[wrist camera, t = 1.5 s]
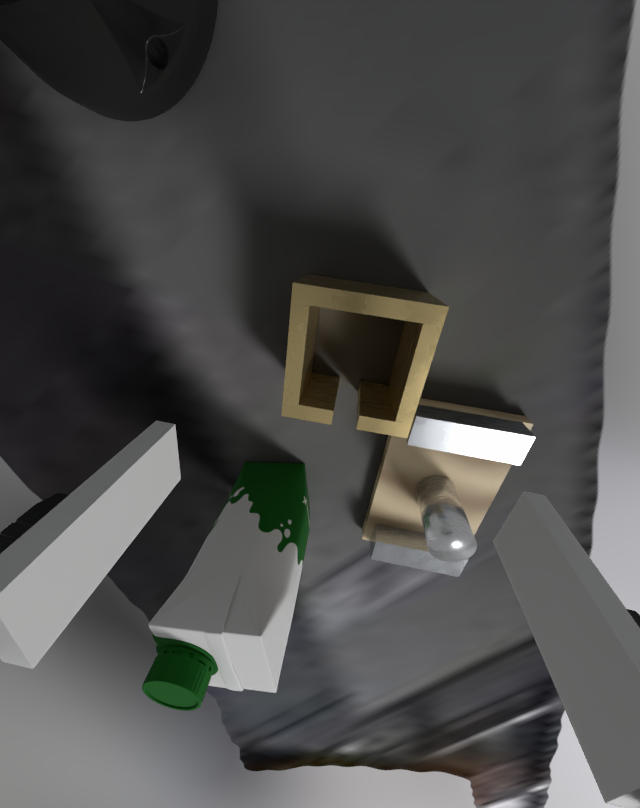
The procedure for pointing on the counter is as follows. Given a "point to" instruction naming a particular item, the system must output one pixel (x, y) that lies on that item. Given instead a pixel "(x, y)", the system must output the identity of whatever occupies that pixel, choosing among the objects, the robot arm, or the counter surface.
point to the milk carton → (235, 593)
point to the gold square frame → (376, 402)
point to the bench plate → (412, 464)
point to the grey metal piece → (447, 489)
